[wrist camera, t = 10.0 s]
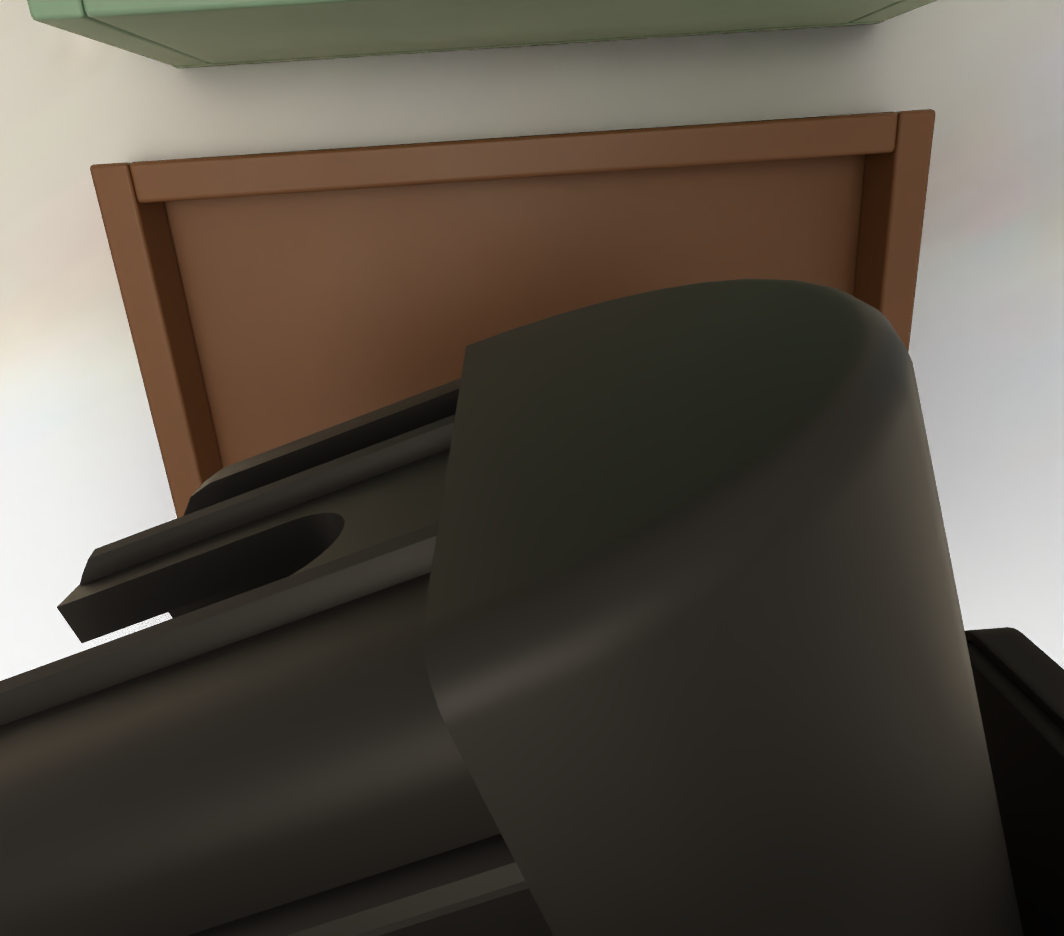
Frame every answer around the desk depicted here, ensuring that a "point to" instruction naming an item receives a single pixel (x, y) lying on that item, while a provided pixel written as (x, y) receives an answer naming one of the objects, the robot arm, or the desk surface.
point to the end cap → (536, 660)
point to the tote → (421, 24)
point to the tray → (472, 255)
